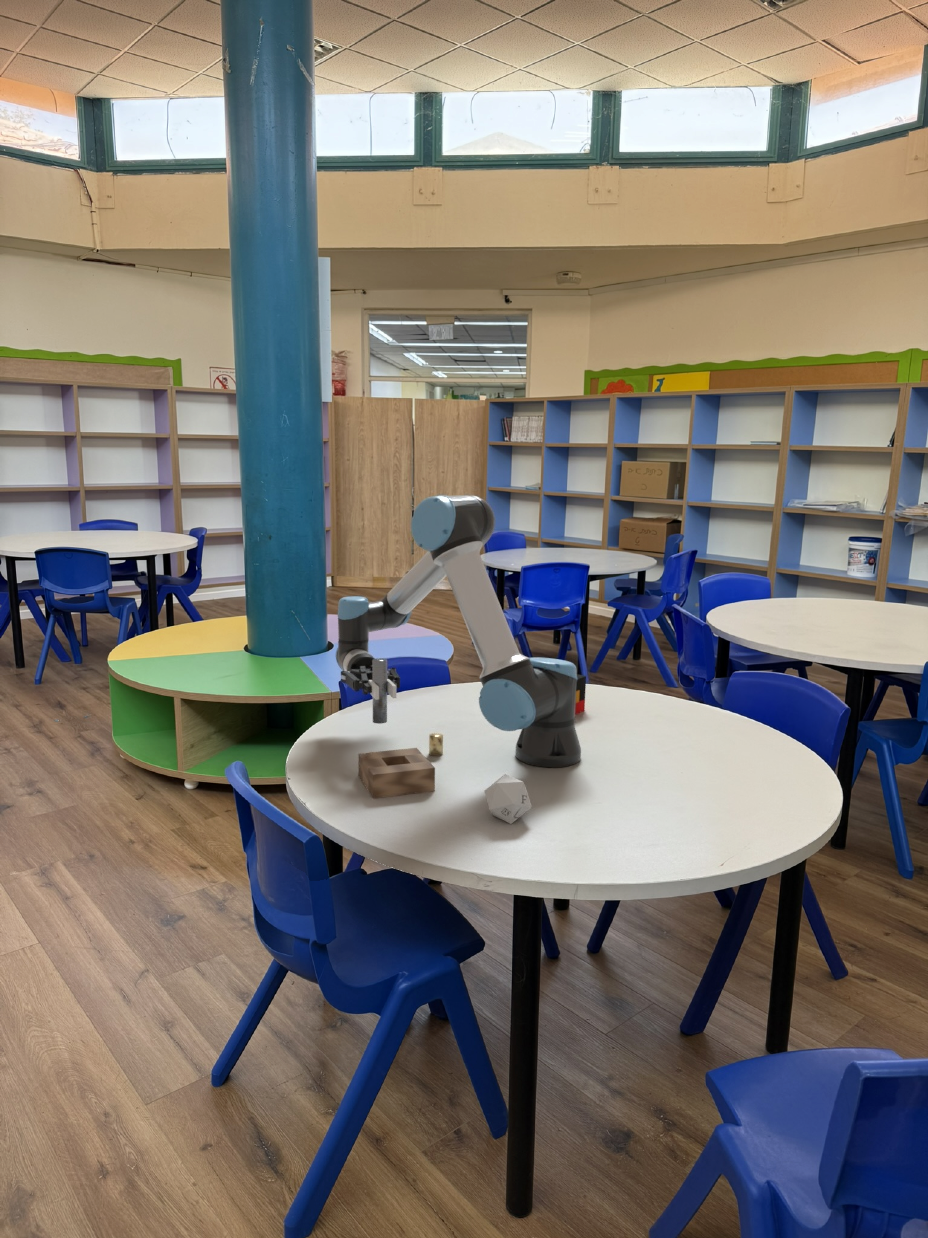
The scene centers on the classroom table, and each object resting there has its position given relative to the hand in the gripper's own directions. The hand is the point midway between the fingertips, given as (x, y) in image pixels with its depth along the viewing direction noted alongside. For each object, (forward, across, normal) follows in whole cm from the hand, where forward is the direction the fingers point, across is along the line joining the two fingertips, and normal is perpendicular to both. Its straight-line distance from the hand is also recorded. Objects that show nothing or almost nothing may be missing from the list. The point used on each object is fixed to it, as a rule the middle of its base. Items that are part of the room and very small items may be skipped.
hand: (385, 692), depth 176 cm
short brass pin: (-8, -14, -18) cm, 24 cm away
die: (+30, -16, -18) cm, 39 cm away
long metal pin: (-5, 0, -8) cm, 10 cm away
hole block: (+7, 0, -18) cm, 19 cm away
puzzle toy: (-32, -58, -18) cm, 68 cm away
